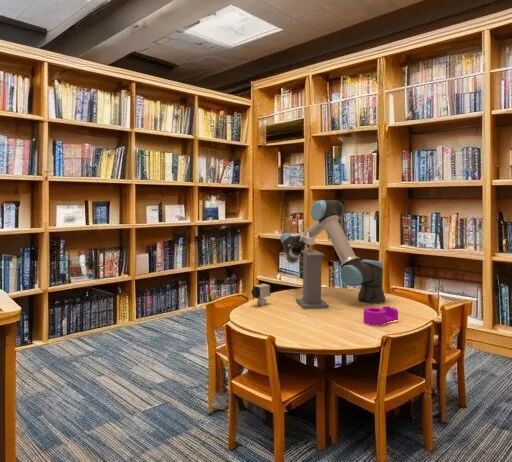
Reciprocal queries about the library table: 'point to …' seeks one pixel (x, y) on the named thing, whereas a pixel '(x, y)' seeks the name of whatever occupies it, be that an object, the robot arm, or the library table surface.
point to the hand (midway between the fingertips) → (305, 234)
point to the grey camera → (261, 293)
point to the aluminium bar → (308, 240)
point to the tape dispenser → (379, 315)
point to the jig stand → (312, 281)
